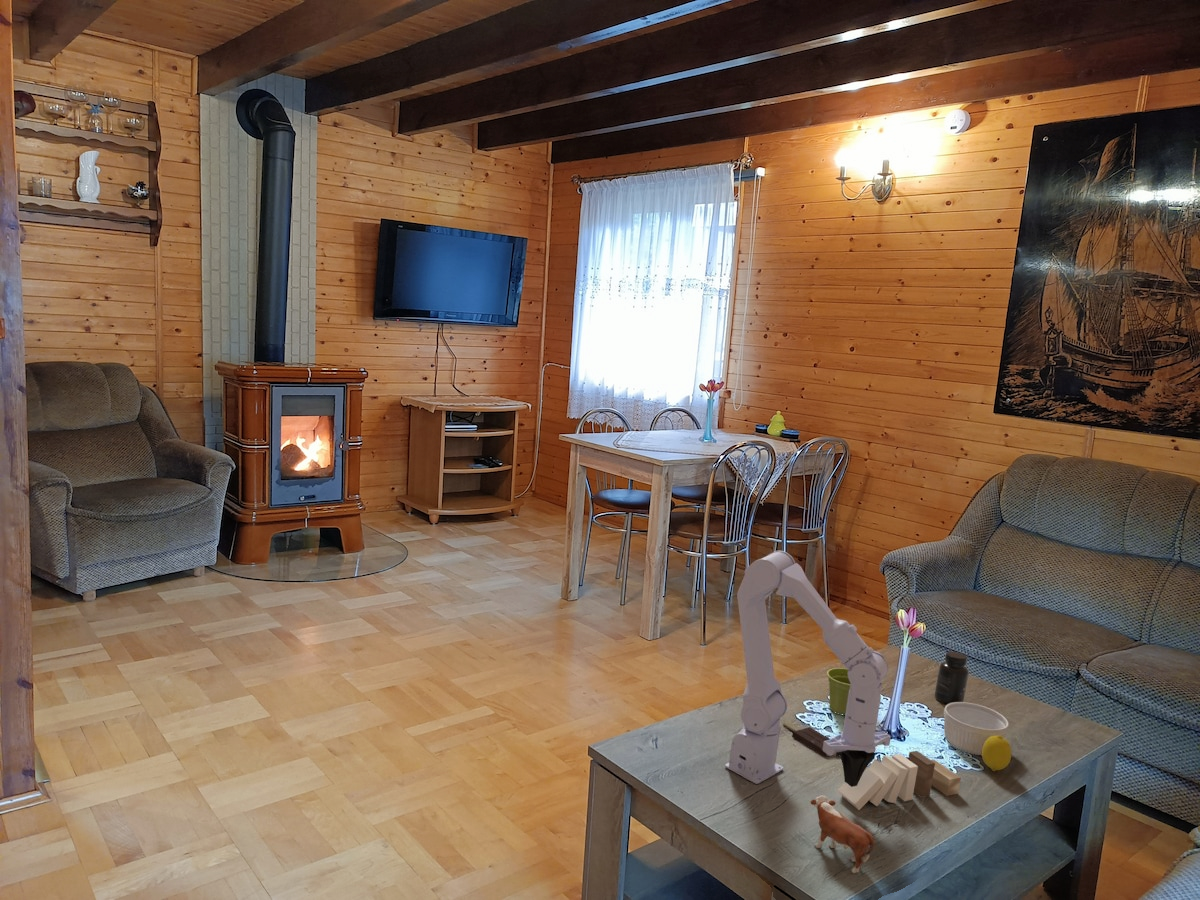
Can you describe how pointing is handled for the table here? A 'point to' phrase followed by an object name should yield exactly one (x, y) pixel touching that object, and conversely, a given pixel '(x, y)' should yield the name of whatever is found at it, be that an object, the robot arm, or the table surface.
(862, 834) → the bull figurine
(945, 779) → the end block
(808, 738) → the ice cream bar
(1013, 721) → the table surface
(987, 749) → the lemon
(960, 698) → the supplement bottle
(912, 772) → the domino
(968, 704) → the ramekin
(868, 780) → the domino
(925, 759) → the domino
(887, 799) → the domino
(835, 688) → the plant pot
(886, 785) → the domino
